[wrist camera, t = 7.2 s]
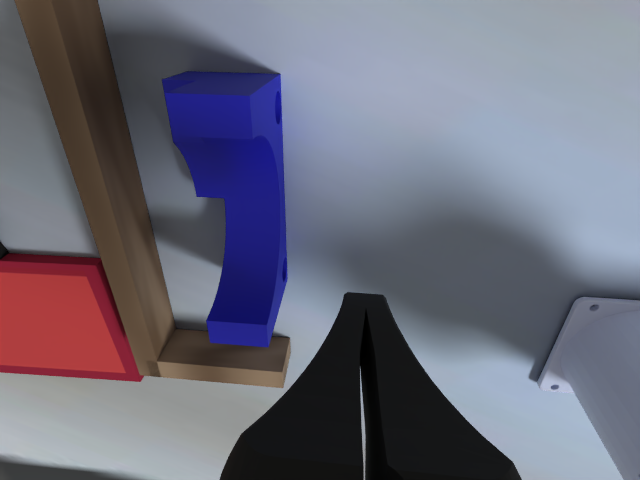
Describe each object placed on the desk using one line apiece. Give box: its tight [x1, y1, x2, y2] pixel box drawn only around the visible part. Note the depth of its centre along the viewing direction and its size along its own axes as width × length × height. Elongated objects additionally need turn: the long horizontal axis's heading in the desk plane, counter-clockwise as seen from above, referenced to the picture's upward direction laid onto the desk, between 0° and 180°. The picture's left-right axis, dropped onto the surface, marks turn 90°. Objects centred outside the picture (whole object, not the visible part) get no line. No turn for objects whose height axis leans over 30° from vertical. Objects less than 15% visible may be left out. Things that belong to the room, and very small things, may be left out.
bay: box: [15, 0, 291, 388], centre depth 20 cm, size 10×24×3 cm, turn 179°
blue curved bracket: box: [162, 71, 287, 347], centre depth 19 cm, size 12×4×6 cm, turn 179°
